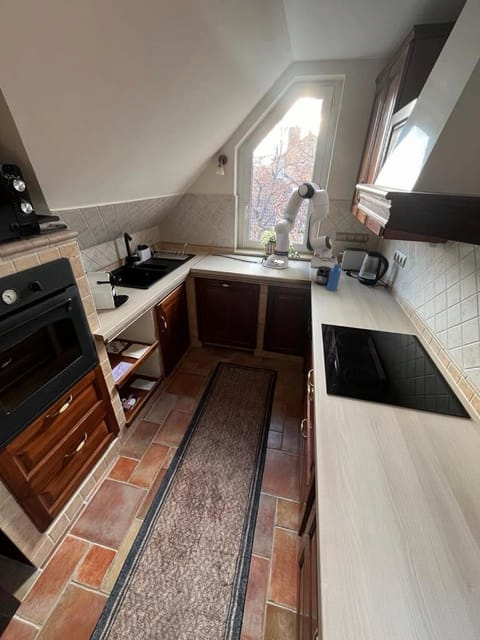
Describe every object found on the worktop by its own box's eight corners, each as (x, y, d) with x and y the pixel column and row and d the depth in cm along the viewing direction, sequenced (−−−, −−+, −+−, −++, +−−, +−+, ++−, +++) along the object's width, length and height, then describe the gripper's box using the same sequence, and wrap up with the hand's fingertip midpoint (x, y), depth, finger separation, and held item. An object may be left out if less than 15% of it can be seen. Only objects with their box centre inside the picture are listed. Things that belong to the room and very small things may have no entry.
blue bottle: (326, 290, 182) (331, 265, 173) (326, 286, 187) (331, 263, 178) (336, 291, 180) (342, 267, 171) (336, 288, 186) (341, 264, 177)
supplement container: (327, 281, 197) (330, 266, 191) (330, 286, 188) (333, 270, 182) (313, 280, 198) (316, 265, 192) (315, 285, 189) (318, 269, 183)
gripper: (311, 254, 198) (309, 270, 195) (339, 257, 193) (337, 273, 190) (311, 258, 204) (308, 274, 201) (337, 261, 199) (335, 277, 196)
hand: (322, 274), depth 195 cm, fingers closed, pressing on supplement container
